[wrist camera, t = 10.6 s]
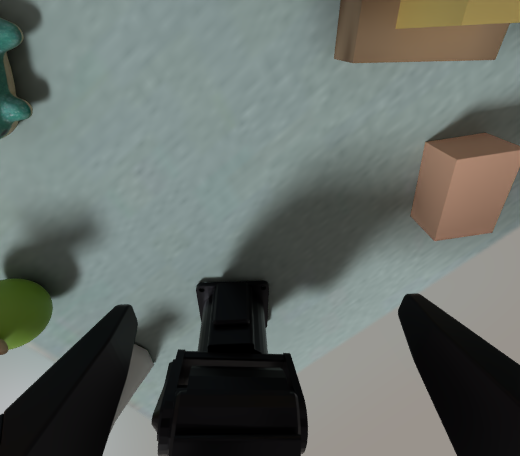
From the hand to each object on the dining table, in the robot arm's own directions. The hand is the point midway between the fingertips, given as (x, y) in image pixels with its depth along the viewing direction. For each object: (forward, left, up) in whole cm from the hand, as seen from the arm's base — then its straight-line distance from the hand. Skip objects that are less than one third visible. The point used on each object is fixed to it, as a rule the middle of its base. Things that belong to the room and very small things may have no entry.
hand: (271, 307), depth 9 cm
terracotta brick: (-1, -14, -12) cm, 19 cm away
